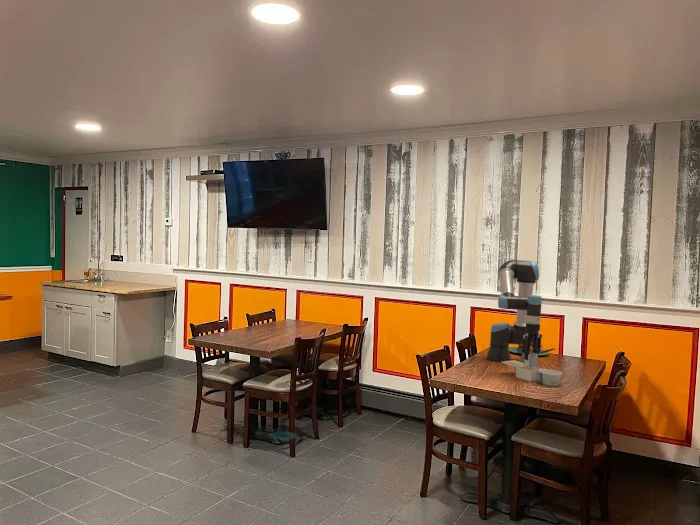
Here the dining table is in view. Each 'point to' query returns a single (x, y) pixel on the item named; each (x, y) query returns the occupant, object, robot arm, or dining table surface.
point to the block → (532, 360)
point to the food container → (550, 377)
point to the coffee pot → (531, 353)
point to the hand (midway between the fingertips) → (530, 365)
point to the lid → (513, 363)
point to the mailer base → (528, 373)
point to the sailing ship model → (519, 350)
